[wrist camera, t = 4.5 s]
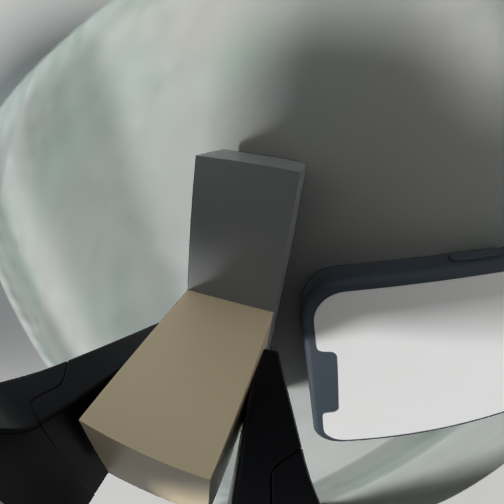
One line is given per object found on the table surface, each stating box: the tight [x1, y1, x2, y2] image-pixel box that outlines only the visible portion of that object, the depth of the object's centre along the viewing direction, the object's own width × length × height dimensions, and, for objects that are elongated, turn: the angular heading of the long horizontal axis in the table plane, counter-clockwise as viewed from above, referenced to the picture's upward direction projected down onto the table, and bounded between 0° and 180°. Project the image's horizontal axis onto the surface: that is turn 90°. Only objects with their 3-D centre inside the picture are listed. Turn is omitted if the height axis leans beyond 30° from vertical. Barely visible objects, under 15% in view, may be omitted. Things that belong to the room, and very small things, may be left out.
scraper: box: [79, 149, 307, 504], centre depth 8 cm, size 10×2×7 cm, turn 173°
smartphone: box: [300, 247, 504, 441], centre depth 9 cm, size 9×2×16 cm
